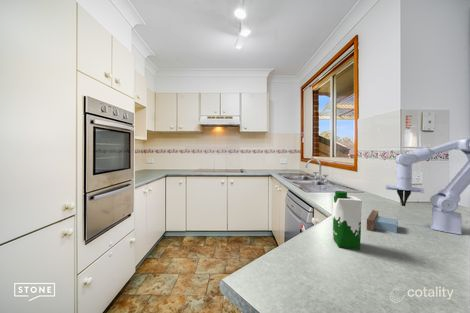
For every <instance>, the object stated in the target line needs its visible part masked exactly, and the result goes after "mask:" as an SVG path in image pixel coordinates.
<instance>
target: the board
mask: <svg viewBox="0 0 470 313" xmlns="http://www.w3.org/2000/svg"><path fill="white" fill-rule="evenodd" d="M377 216H379V210H376V209H375V210H373V209H372V211H371V212H370V213H369V215H368V216H367V218H366V231H368V232H369V231H370V232H374V231H375V230H376V229H375V219H376V217H377Z"/></svg>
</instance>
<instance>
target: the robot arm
mask: <svg viewBox="0 0 470 313" xmlns="http://www.w3.org/2000/svg"><path fill="white" fill-rule="evenodd" d="M452 150H456V151H457V150H459V151H461V152H462V153H463V154H464V155H465V156H466V158H467V160H468V161H467V162H466V163H465V164H464V165H463V166H462V167H461V169H460V170H458V171H459V172H457V174H455V176H454V177H453V178H452V179H451V180H450V182H448V184H447V185H446V186H445V187H444V188H443V189H441V190H438V192H437V193H435V194H434V195H432V196H431V197H430V198H429V203H430V204H431V205H432V207H431V208H432V209H431V223H430V224H429V227H430V229H431V230H434V231H437V232H438V231H439V232H444V233H451V234H457V235H460V236H461V235H462V234H463V233H462V229H463V228H462V226H463V225H462V221H463V219H462V218H463V217H462V213H461V212H456V210H457V209H458V206H459V203H460V202H461V195H462V193H463V192H464V191H465V190H466V189H467V188H468V187H469V185H470V137H465V138H462V139H455V140H451V141H449V142H445V143H442V144H439V145H436V146H433V147H430V148H428V147H422V146H420V147H418V148H417V149H414V150H411V151H410V150H409V151H406V153H400V154H398V155H397V156H396V157H395V159H394V160H395V163H396V185H385V190H390V191H396V193H397V195H398V197H399V200H400V203H401V206H402V207H406V205H407V201H408V199H409V197H410V195H412V193H421V194H424V193H425V188H422V187H421V188H420V187H413V186H412V183H413V179H412V178H413V164H416V163H419V162H423V161H426V160H427V161H428V160H429V159H430V160H431V159H432V158H433V156H434V155H436V154H437V155H438V154H441V153H445V152H449V151H452Z"/></svg>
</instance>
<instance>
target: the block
mask: <svg viewBox="0 0 470 313" xmlns="http://www.w3.org/2000/svg"><path fill="white" fill-rule="evenodd" d="M398 223H399V222H398V219H397V218H392V217H386V216H385V217H384V216H379V215H378V216H377V217H376V219H375V229H374V230H379V231H384V232H389V233H393V234H397V231H398V227H399V225H398Z"/></svg>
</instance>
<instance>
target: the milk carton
mask: <svg viewBox="0 0 470 313" xmlns="http://www.w3.org/2000/svg"><path fill="white" fill-rule="evenodd" d="M332 205H333V206H332V208H333V210H332V211H333V213H332V214H333V215H332V221H333V222H332V223H333V224H332V234H333V235H332V236H333V241H334V242H335V244H336V245H337V247H338V248H340V249H350V250H358V251H359V250H361V236H362V235H361V233H362V206H363V199H360V198H359V197H356V196H354V195H348V192H347V191H343V190H335V191H334V195H332Z"/></svg>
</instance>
